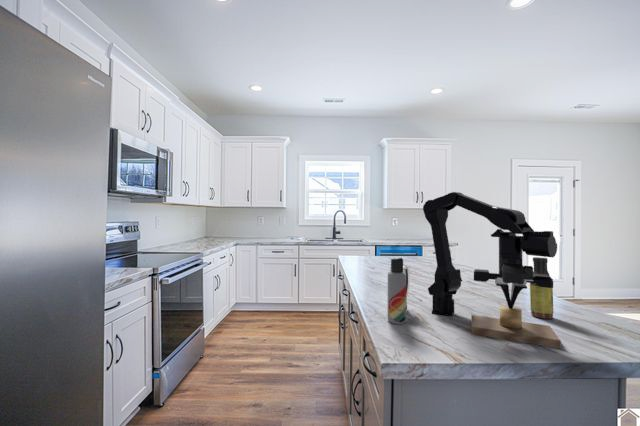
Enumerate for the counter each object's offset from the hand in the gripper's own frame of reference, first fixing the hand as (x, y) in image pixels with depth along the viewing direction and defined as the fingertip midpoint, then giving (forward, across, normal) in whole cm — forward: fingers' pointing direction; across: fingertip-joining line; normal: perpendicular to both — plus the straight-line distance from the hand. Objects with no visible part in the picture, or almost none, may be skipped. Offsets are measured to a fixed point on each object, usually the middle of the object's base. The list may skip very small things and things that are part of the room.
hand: (510, 308), depth 84 cm
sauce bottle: (+7, +11, +23) cm, 27 cm away
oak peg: (+7, 0, 0) cm, 7 cm away
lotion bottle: (+7, -31, -6) cm, 32 cm away
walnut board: (+7, 0, 0) cm, 7 cm away
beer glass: (+7, -33, +7) cm, 34 cm away
